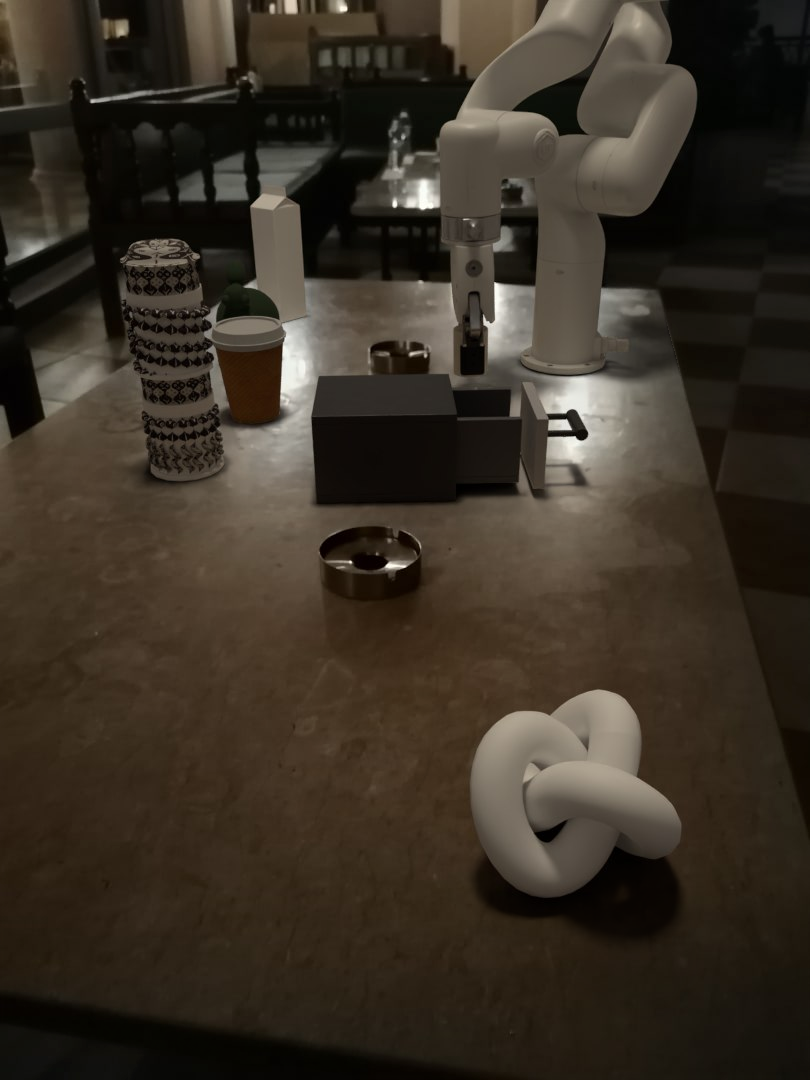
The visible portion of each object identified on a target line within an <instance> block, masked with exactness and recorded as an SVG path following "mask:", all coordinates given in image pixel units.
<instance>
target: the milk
mask: <svg viewBox="0 0 810 1080" xmlns="http://www.w3.org/2000/svg"><path fill="white" fill-rule="evenodd" d="M261 191H262V192H261V193H262V194H261V195H260V196H259V197H258V198H256V200H255V201H254V202H253V203H252V204H251V205H250V206H249V209H250V218H251V219H250V220H251V232H252V242H253V254H254V255H253V256H254V265H255V266H254V267H255V275H256V277H255V278H256V287H257V288H256V289H257V290H260V291H262V292H263V293H265V294H266V295H267V296H268V297H270V298H271V300H272V301H273V302H274V303H275V305H276V307H277V309H278V312H279V317H280V321H281V323H282V324H283V323H285V322H290V321H293V320H297V319H300V318H304V317H307V300H306V286H305V285H306V284H305V269H304V253H303V239H302V237H303V236H302V222H301V208H300V207H301V206H300V204H299V203H296V202H295V201H293V200H291V199H290V198H289V197H287V193H286V192H287V191H286V187H285V186H278V185H270V184H261Z"/></svg>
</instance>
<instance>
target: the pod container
mask: <svg viewBox="0 0 810 1080" xmlns="http://www.w3.org/2000/svg"><path fill="white" fill-rule="evenodd" d="M483 327H484V344H485V373H484V374H483V375H466V376H463V375H461V373H460V345H462V325H458V324H457V325H455V326H454V327H453V329H452V337H453V338H452V339H453V340H452V344H453V345H452V347H453V348H452V349H453V350H452V351H453V353H452V355H453V374H454V375H456V376H457V377H460V378H468V379H469V378H471V379H472V378H479V377H483V376H485V375H486V374H487V373H488V372H489V371H488V369H489V367H488V366H489V365H488V364H489V328H488V326H486V325H485V324H484V325H483ZM467 330H470V327H466V333H467Z"/></svg>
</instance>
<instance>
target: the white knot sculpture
mask: <svg viewBox="0 0 810 1080" xmlns="http://www.w3.org/2000/svg"><path fill="white" fill-rule="evenodd" d="M642 744H643V739H642V729H641V723H640V720H639V718H638V715H637V714H636V711H635V710H634V709H633V708H632V706H631V705H630V704H629V702H628V701H627V700H626V698H624V697H623V696H621V695H620V694H618V693H616V692H612V691H609V690H605V689H599V688H598V689H593V690H589V691H585V692H583V693H580V694H578V695H576V696H574V697H572V698H570V699H568V700H567V701H565V702H564V703H562V704H561V705H560V706H558V708H556V709H555V710H554V711H553V712H552V713H551V714H547V713H546V712H542V711H535V710H519V711H518V710H517V711H514V712H511V713H508V714H506V715H505V716H503V717H501V719H499V720H498V721H496V723H494V724H493V725H492V726H490V728H489V730H488V731H487V732H485V734H484V735H483V737H482V739H481V740H480V742H479V745H478V747H477V748H476V751H475V755H474V758H473V760H472V764H471V770H470V778H469V804H470V810H471V816H472V821H473V826H474V828H475V831H476V834H477V838H478V840H479V843H480V845H481V847H482V848H483V851H484V853H485V854H486V856H487V858H488V860H489V862H490V863H491V865H492V866H493V867H494V868H495V869H496V871H497V872H498V873H499V875H500V876H501V877H502V878H503V879H504V880H505V881H506V882H507V883H509V884H510V885H511V886H513V887H514V888H515V889H516V890H518V891H520V892H523V893H525V894H527V895H529V896H531V897H537V898H544V899H551V898H559V897H563V896H566V895H569V894H572V893H575V892H576V891H577V890H579V889H581V888H583V887H584V886H585V885H587V884H588V883H589V882H591V881H592V879H594V878H595V876H596V875H597V874H598V873H599V872H600V871H601V869H602V868H604V865H605V864H606V863H607V861H608V859H609V858H610V856H611V854H612V852H613V850H614V848H615V847H616V848H617V849H620V850H622V851H624V852H625V853H627V854H630V855H633V856H637V857H641V858H644V859H650V860H657V859H661V858H663V857H667V856H669V855H671V854H672V853H673V852H674V850H675V849H676V848H677V847H678V846H679V844H680V843H681V838H682V837H681V836H682V822H681V819H680V817H679V815H678V813H677V811H676V808H675V807H674V805H673V804H672V803H671V802H670V800H669V799H668V798H667V797H666V796H665V795H663V794H662V793H661V792H660V791H658V790H657V789H656V788H654V787H652V786H651V785H650V784H648V783H647V782H645V781H643V780H642V779H640V778H639V777H638V772H639V769H640V763H641V757H642ZM565 821H566V822H565ZM564 822H565V823H564ZM562 823H564V825H563V826H562V828H561V830H560V831H559V832H558V833H557V835H556V836H555V837H554V838H553V839H552V840H551V841H549V842H545V841H542V840H541V839H540V838H538V837H537V835H536V834H535V833H540V832H546V831H549V830H551V829H553V828H555V827H556V826H558V825H560V824H562Z"/></svg>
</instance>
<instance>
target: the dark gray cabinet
mask: <svg viewBox="0 0 810 1080" xmlns="http://www.w3.org/2000/svg"><path fill="white" fill-rule="evenodd" d="M450 377H451V376H450V374H449V373H415V374H414V373H413V374H412V373H410V374H407V373H406V374H358V375H357V374H355V375H354V374H353V375H352V374H351V375H347V374H346V375H318V378H317V382H316V383H317V384H316V389H315V393H314V400H313V404H312V405H313V406H312V411H311V415H310V419H311V420H310V421H311V437H312V452H313V453H312V454H313V468H314V485H315V499H316V500H315V501H316V504H340V503H342V504H345V503H347V504H349V503H389V502H390V503H392V502H395V503H396V502H446V501H448V502H449V501H450V502H451V501H453V502H454V501H456V498H457V484H456V455H457V411H456V406H455V401H454V396H453V391H452V388H453V386H452V382H451V378H450Z"/></svg>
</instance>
